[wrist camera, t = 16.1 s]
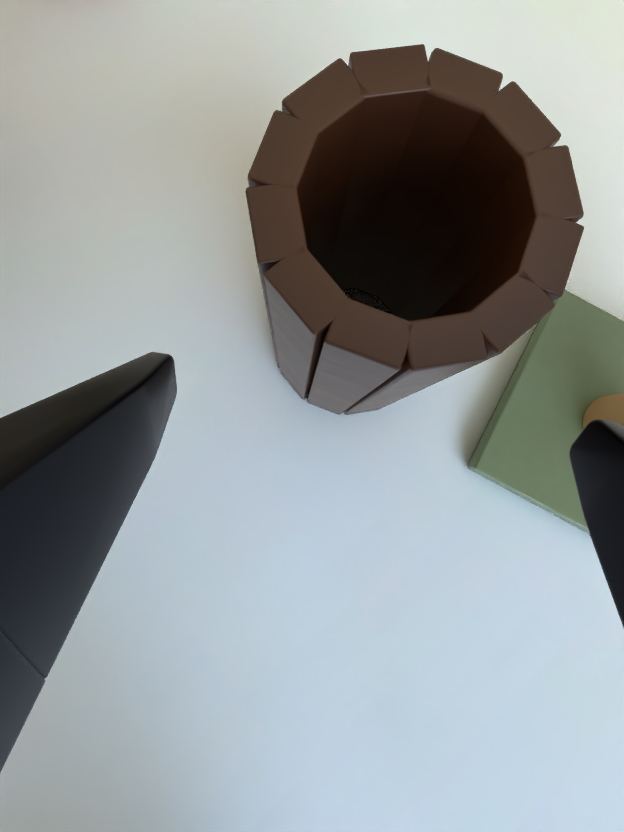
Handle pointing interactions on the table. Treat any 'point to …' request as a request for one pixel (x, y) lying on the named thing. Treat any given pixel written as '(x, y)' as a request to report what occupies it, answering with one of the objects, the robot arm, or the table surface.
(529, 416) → the peg stand
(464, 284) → the brown slatted pencil holder
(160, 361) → the robot arm
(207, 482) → the table surface
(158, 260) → the table surface
